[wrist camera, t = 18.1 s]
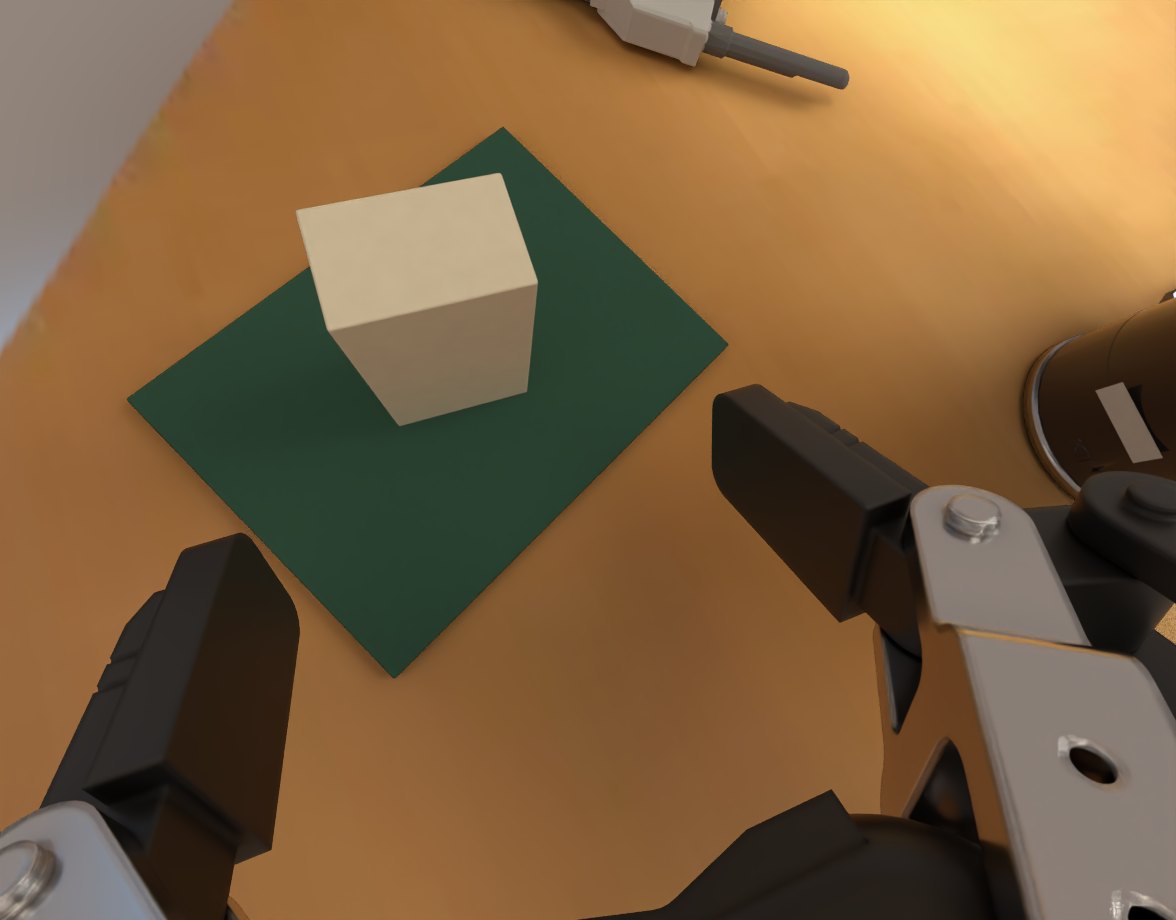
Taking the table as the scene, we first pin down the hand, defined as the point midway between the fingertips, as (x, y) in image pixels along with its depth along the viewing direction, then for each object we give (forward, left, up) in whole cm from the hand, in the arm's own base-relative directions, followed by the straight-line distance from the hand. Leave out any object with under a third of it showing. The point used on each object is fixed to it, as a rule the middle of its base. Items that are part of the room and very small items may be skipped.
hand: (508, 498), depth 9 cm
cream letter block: (-3, -7, -13) cm, 15 cm away
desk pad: (-3, -7, -13) cm, 15 cm away
